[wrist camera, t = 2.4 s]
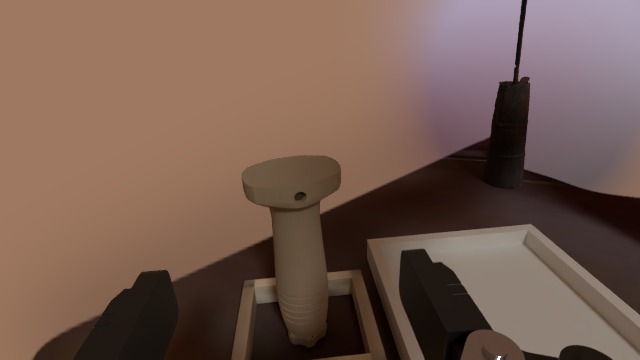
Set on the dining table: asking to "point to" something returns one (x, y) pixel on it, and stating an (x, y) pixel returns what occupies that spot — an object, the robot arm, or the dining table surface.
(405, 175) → the dining table surface
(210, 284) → the dining table surface
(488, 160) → the butter churn
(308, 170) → the handle
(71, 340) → the dining table surface
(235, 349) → the wooden square frame
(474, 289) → the tray
